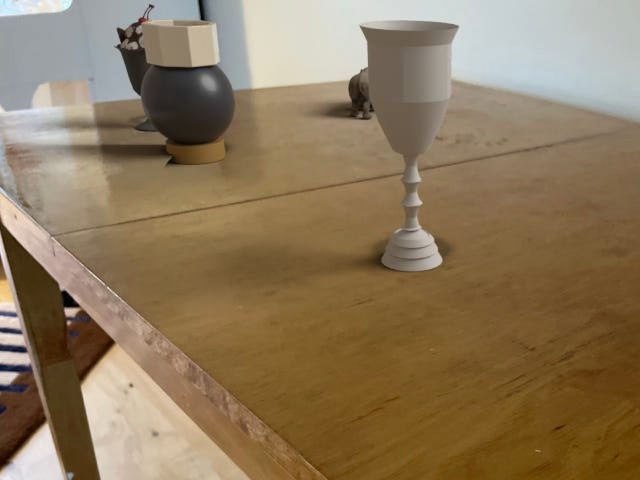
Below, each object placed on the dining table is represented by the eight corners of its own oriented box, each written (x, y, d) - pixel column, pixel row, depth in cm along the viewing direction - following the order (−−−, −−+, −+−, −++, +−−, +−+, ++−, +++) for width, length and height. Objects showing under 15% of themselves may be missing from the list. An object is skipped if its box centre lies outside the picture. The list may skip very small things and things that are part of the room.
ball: (142, 168, 86) (122, 58, 81) (161, 146, 95) (145, 45, 89) (235, 168, 87) (222, 59, 82) (246, 146, 96) (235, 47, 91)
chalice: (430, 240, 69) (430, 19, 60) (470, 265, 64) (477, 29, 55) (354, 254, 65) (343, 21, 57) (390, 282, 60) (385, 32, 52)
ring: (142, 65, 82) (135, 24, 81) (157, 56, 89) (151, 18, 87) (212, 67, 83) (208, 27, 82) (222, 58, 90) (219, 20, 88)
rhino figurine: (385, 101, 124) (384, 61, 121) (374, 119, 112) (373, 76, 109) (360, 101, 124) (358, 61, 121) (346, 119, 112) (344, 74, 109)
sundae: (189, 129, 103) (170, 5, 96) (135, 134, 100) (112, 6, 93) (175, 120, 108) (156, 1, 101) (123, 124, 105) (101, 2, 97)
